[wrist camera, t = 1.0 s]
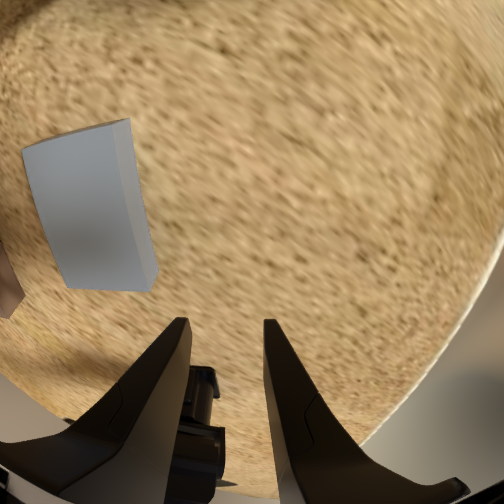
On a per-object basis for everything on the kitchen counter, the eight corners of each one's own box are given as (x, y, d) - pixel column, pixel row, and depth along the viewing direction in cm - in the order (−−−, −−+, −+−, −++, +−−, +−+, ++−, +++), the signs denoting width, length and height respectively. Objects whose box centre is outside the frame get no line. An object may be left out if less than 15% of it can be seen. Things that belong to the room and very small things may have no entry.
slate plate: (160, 267, 23) (149, 291, 20) (82, 267, 23) (67, 287, 21) (132, 117, 16) (111, 124, 14) (45, 138, 17) (21, 149, 14)
